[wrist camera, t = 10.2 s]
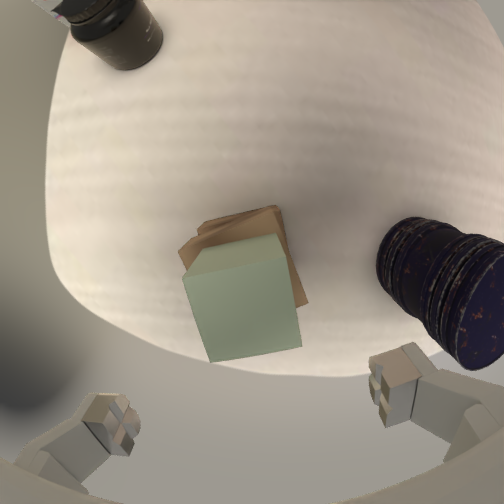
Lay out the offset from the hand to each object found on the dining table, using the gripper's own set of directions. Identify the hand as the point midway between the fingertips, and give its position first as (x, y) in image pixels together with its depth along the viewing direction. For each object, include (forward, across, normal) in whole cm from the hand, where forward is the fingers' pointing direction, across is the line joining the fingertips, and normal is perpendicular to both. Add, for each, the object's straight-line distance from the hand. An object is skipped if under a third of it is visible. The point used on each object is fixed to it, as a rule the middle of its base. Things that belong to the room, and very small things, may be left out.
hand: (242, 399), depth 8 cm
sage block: (+12, 0, 0) cm, 12 cm away
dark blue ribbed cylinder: (+21, -17, +6) cm, 28 cm away
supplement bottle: (+21, +7, -25) cm, 33 cm away
